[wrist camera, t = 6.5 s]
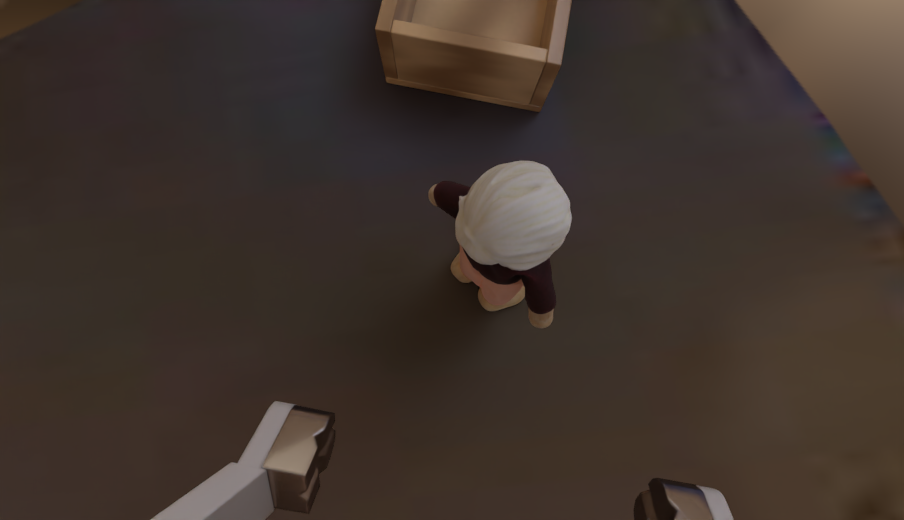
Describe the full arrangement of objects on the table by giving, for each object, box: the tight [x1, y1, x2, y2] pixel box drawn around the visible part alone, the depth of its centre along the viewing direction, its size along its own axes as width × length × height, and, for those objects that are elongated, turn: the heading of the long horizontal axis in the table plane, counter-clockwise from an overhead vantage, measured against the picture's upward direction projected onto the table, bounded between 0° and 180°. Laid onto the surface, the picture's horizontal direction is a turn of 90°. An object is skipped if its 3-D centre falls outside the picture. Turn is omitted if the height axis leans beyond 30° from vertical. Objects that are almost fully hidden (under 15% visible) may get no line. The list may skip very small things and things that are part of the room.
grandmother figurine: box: [428, 161, 572, 328], centre depth 17 cm, size 8×4×13 cm, turn 51°
